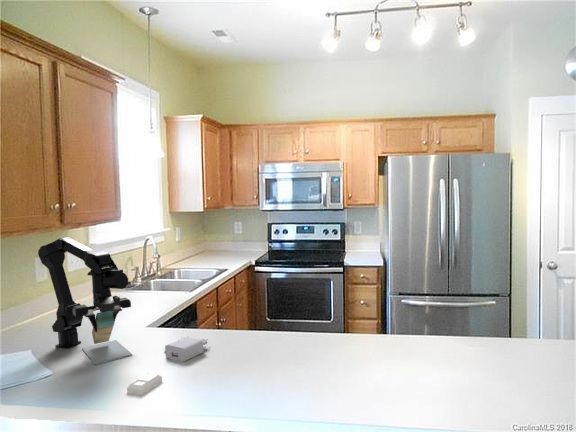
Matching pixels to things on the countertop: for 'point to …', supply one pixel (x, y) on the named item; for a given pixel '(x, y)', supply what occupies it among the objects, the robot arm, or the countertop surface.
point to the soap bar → (144, 384)
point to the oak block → (103, 327)
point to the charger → (185, 348)
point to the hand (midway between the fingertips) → (103, 330)
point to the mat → (106, 352)
